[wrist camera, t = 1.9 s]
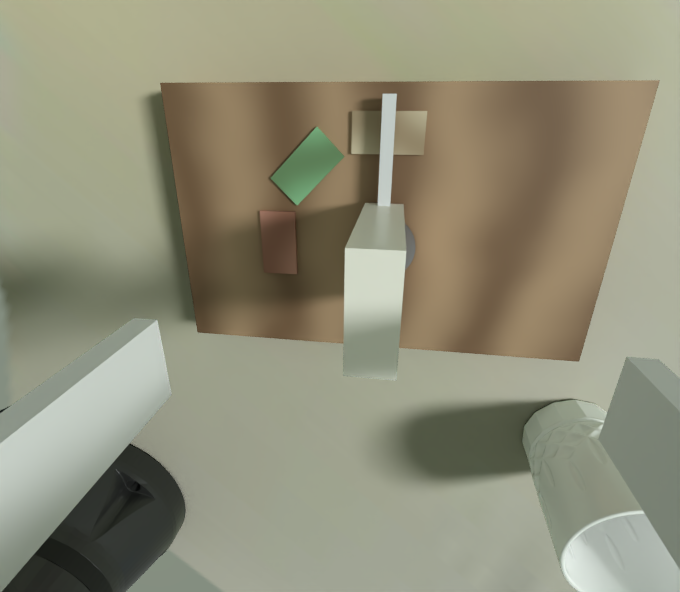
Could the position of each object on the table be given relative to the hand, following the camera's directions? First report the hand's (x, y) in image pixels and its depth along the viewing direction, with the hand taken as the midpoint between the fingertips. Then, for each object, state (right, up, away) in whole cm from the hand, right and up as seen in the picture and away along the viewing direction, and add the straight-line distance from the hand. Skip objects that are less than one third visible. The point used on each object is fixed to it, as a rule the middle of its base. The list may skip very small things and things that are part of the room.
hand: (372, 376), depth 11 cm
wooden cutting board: (+2, +7, +15) cm, 17 cm away
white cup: (+17, -8, +19) cm, 27 cm away
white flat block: (+2, +8, +11) cm, 14 cm away
